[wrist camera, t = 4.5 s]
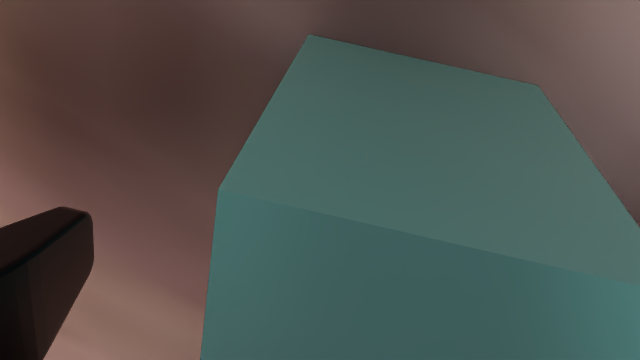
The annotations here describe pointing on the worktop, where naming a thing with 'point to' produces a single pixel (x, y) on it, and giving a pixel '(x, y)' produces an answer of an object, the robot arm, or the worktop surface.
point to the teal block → (416, 223)
